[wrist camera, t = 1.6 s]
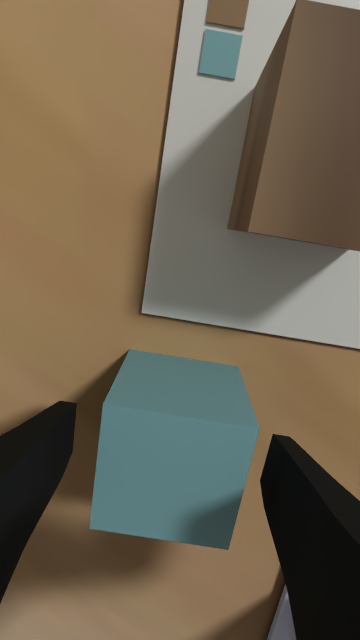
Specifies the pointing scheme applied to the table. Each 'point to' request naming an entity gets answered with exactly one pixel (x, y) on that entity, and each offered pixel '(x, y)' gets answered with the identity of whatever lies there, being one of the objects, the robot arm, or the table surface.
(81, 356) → the table surface
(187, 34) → the baseplate
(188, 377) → the brick teal
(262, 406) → the table surface
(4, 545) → the robot arm
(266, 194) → the brick walnut
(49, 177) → the table surface
